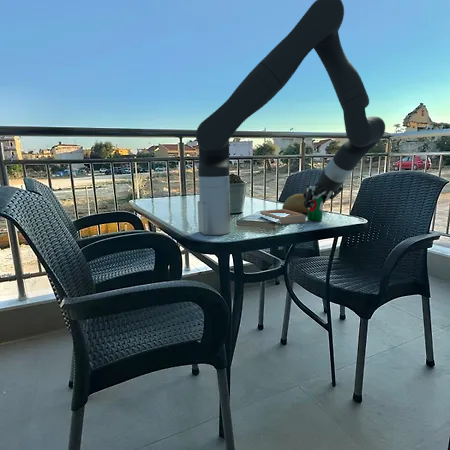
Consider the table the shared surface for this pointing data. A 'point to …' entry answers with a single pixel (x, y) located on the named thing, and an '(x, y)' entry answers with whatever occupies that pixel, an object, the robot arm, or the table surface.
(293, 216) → the tray
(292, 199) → the bread roll
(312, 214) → the soda can
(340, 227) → the table surface
